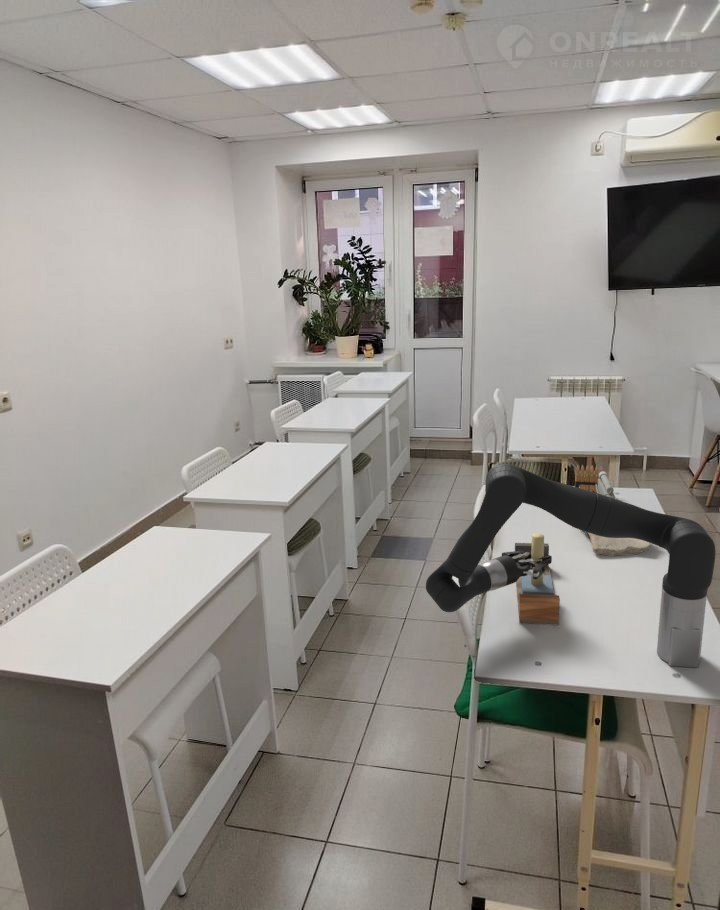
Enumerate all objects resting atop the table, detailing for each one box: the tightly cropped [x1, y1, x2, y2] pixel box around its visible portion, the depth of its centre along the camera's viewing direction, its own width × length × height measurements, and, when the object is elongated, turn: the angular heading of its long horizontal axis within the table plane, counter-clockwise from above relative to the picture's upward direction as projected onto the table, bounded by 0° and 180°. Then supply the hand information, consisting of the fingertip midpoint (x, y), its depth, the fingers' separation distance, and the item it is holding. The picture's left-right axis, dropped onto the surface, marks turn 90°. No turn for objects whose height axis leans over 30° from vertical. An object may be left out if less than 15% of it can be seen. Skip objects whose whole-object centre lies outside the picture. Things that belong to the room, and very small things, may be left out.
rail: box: [514, 542, 561, 626], centre depth 183 cm, size 34×10×8 cm, turn 169°
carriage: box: [521, 533, 555, 595], centre depth 174 cm, size 10×8×18 cm
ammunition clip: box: [574, 464, 604, 493], centre depth 255 cm, size 11×2×12 cm, turn 69°
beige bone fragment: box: [586, 532, 651, 557], centre depth 213 cm, size 24×8×20 cm
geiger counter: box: [596, 470, 616, 499], centre depth 235 cm, size 14×6×25 cm
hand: (545, 556), depth 175 cm, fingers closed on carriage, 3 cm apart
